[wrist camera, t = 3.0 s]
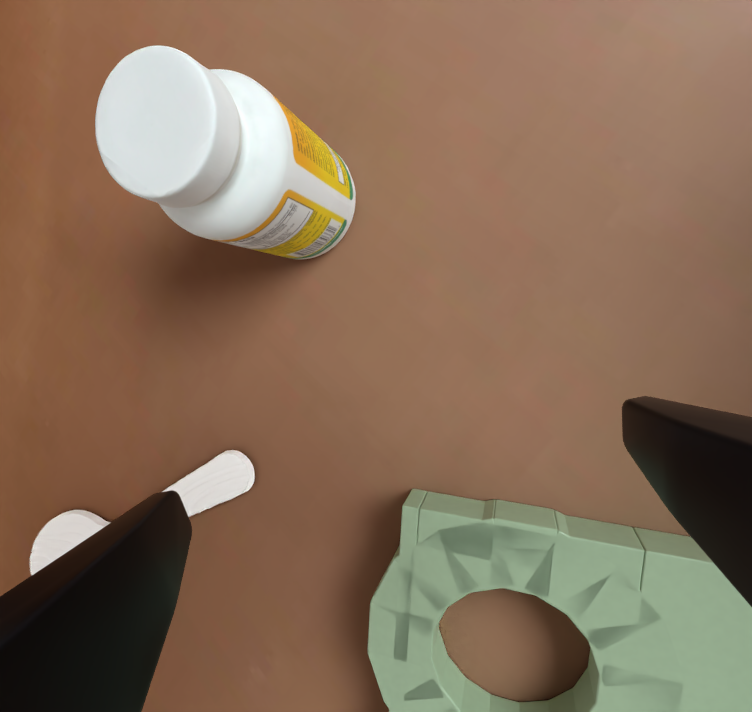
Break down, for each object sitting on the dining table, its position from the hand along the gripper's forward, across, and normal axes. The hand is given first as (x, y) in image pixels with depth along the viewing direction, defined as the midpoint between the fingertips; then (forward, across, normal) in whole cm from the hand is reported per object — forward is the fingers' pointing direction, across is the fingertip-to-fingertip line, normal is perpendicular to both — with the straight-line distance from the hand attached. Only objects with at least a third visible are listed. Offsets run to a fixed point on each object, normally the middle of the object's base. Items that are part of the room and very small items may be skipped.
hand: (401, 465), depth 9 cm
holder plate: (+6, -6, +16) cm, 18 cm away
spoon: (+15, +16, +10) cm, 24 cm away
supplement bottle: (+15, +2, -5) cm, 16 cm away
